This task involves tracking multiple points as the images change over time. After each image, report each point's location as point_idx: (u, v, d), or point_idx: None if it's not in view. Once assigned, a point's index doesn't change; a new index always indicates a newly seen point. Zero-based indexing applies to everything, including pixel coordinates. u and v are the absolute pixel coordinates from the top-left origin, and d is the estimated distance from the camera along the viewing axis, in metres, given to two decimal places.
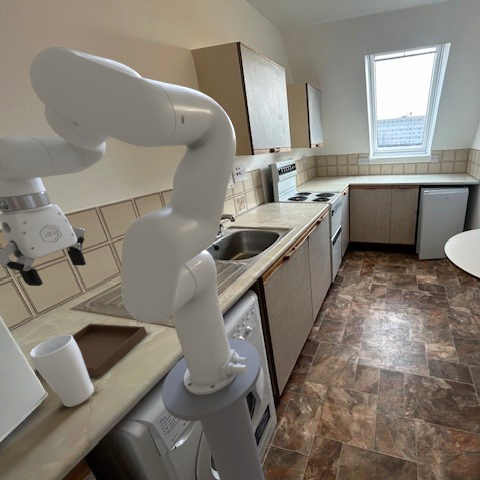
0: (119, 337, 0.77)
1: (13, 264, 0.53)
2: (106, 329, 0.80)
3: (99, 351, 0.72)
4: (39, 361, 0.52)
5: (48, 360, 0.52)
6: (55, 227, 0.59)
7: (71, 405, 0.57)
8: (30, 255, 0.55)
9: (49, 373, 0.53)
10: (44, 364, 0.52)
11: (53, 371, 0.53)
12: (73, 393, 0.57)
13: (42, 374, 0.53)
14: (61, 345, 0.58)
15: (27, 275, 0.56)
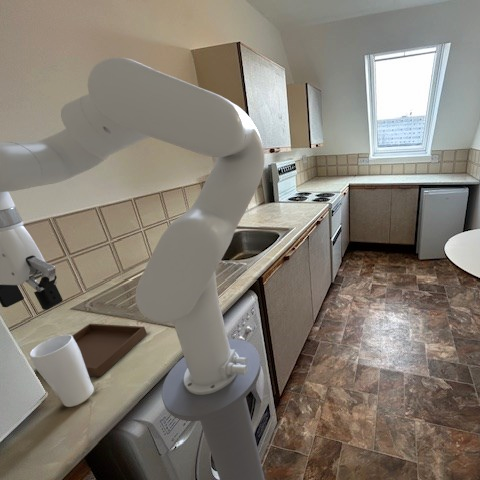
0: (119, 337, 0.77)
1: None
2: (106, 329, 0.80)
3: (99, 351, 0.72)
4: (39, 361, 0.52)
5: (48, 360, 0.52)
6: None
7: (71, 405, 0.57)
8: None
9: (49, 373, 0.53)
10: (44, 364, 0.52)
11: (53, 371, 0.53)
12: (73, 393, 0.57)
13: (42, 374, 0.53)
14: (61, 345, 0.58)
15: None
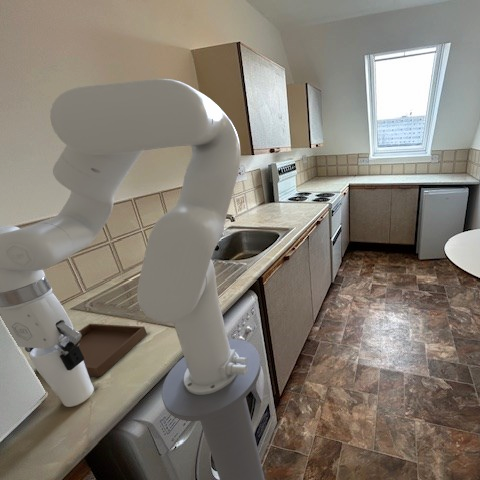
0: (119, 337, 0.77)
1: None
2: (106, 329, 0.80)
3: (99, 351, 0.72)
4: (39, 361, 0.52)
5: (47, 360, 0.52)
6: (25, 327, 0.49)
7: (71, 405, 0.57)
8: None
9: (49, 373, 0.53)
10: (43, 363, 0.52)
11: (53, 371, 0.53)
12: (73, 393, 0.57)
13: (42, 374, 0.53)
14: None
15: None
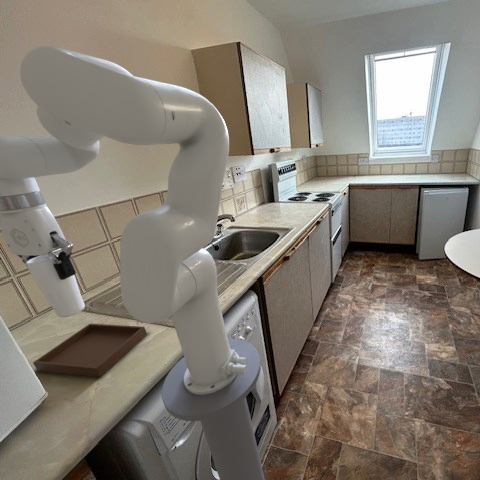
0: (119, 337, 0.77)
1: (18, 254, 0.60)
2: (106, 329, 0.80)
3: (99, 351, 0.72)
4: (34, 268, 0.58)
5: (42, 267, 0.58)
6: (22, 233, 0.56)
7: (64, 315, 0.63)
8: None
9: (44, 280, 0.59)
10: (39, 270, 0.58)
11: (47, 279, 0.59)
12: (66, 303, 0.63)
13: (37, 281, 0.59)
14: None
15: None
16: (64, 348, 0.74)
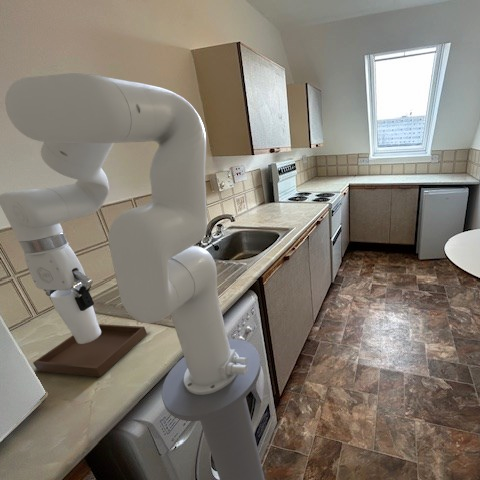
0: (119, 337, 0.77)
1: None
2: (106, 329, 0.80)
3: (99, 351, 0.72)
4: (57, 301, 0.64)
5: (65, 301, 0.64)
6: (48, 271, 0.61)
7: (83, 342, 0.69)
8: None
9: (66, 312, 0.65)
10: (61, 303, 0.64)
11: (69, 310, 0.65)
12: (85, 332, 0.69)
13: (60, 313, 0.65)
14: None
15: None
16: (64, 348, 0.74)
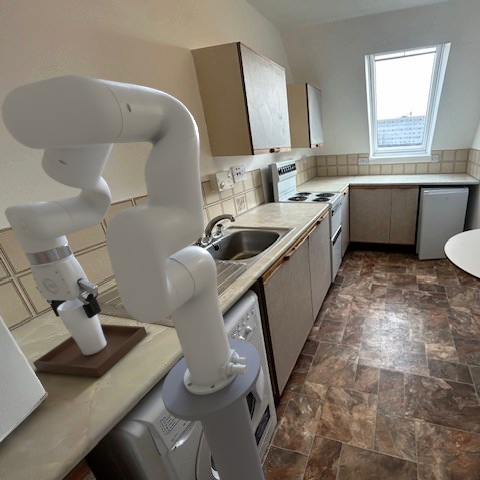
0: (119, 337, 0.77)
1: None
2: (106, 329, 0.80)
3: (99, 351, 0.72)
4: (64, 314, 0.65)
5: (71, 314, 0.65)
6: (53, 282, 0.62)
7: (89, 353, 0.71)
8: None
9: (72, 325, 0.66)
10: (68, 316, 0.65)
11: (75, 323, 0.66)
12: (90, 343, 0.70)
13: (66, 325, 0.66)
14: (80, 305, 0.71)
15: None
16: (64, 348, 0.74)
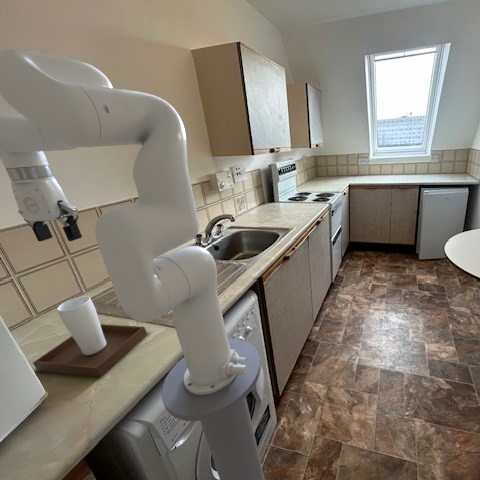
0: (119, 337, 0.77)
1: (24, 219, 0.69)
2: (106, 329, 0.80)
3: (99, 351, 0.72)
4: (64, 314, 0.65)
5: (71, 314, 0.66)
6: (34, 201, 0.64)
7: (89, 353, 0.71)
8: None
9: (72, 325, 0.66)
10: (68, 316, 0.65)
11: (75, 323, 0.66)
12: (90, 343, 0.70)
13: (66, 325, 0.66)
14: (80, 305, 0.71)
15: None
16: (64, 348, 0.74)
